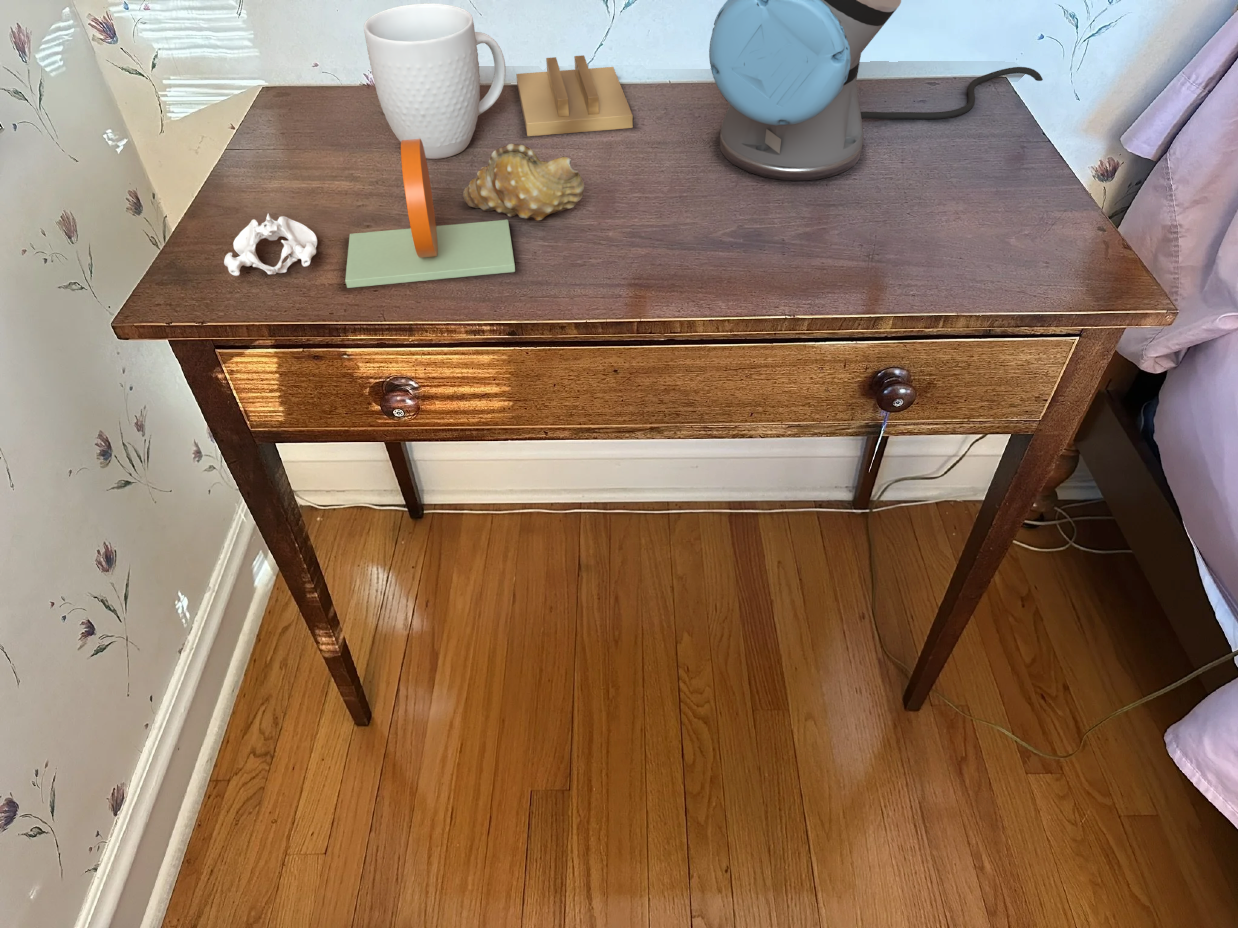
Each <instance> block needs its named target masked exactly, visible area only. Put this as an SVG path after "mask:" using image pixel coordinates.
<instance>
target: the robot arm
mask: <svg viewBox="0 0 1238 928" xmlns="http://www.w3.org/2000/svg"><path fill="white" fill-rule="evenodd" d="M901 3H902V0H726V1H725V2H724V4H723V5H722V6H721V8H720V9H719V11H718V12H717V15H716V17H715V19H714V23H713V27H712V31H711V36H710V40H709V46H708V47H709V48H708V52H709V53H708V58H709V65H710V71H711V74H712V78H713V81H714V82H715V85H716V87H717V88H718V91H719V92H720V94H721V95H722V97H723V98H724V99H725V100H726V102H727V103H728V104H729V105H728V108H727V111H726V113H725V115H724V118H723V119H722V123H721V127H720V134H719V135H720V136H719V149H720V152H721V154H722V155H723V156H724V158H725V159H726V160H727V161H729V162H730V163H731V164H732V165H734V166H735V167H738V168H739V169H740V170H743V171H745V172H748V173H751V174H754V175H756V176H760V177H765V178H769V179H773V180H783V181H814V180H822V179H827V178H830V177H834V176H838V175H840V174H842V173H845V172H846V171H848V170H850V169H852V168H853V167H854V166H856V164H857V163H858V162H859V160H860V158H861V155H862V149H863V144H864V128H863V120H864V119H865V120H866V119H867V120H868V119H869V120H940V119H949V118H954V117H959V116H962V115H964V114H966V113H969V112H970V111H971V110H972V109H973V108H974V106H975V104H976V103H975V102H976V94H975V88H976V87H977V86H978V85H981V84H982V83H984V82H987V81H990V80H993V79H997V78H999V77H1003V76H1008V75H1012V74H1013V75H1015V74H1021V75H1027V76H1029V77H1031V78H1033V79H1034V80H1035V81H1036V82H1042V81H1044V79H1043V76H1042V75H1041V74H1040V73H1039V72H1038V71H1037V70H1036V69H1034V68H1031V67H1026V66H1013V67H1007V68H1006V67H1005V68H1002V69H999V70H995V71H992V72H989V73H986V74H983V75H981V76H979V77H976V78H974V79H973V80H972V81H970V83H969V84H968V86H967V103H966V104H965V105H964V106H962V107H959V108H957V109H951V110H945V111H927V112H926V111H924V112H922V111H921V112H919V111H861V106H860V105H861V104H860V99H859V91H858V84H857V79H858V74H859V73H858V72H859V68H860V62H861V56H862V53H863V52H864V50H865V49H866V48H867V47H868V46H869V44H870V43H871V41H872V40H873V39H874V38H875V37H876V36H877V34H878V33H879V32H880V31H881V29H882V28H883V27H884V25H886V23H887V22H888V20H889V19H890V18H891V17H892V16H893V15H894V13H895V12H896V11H897V9H899V7H900V5H901ZM862 119H863V120H862Z"/></svg>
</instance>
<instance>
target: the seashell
mask: <svg viewBox="0 0 1238 928" xmlns="http://www.w3.org/2000/svg"><path fill="white" fill-rule="evenodd" d="M571 164H572V159H571V158H570V157H566V156H560V157H558V158H554V159H552V160H550V161H549V160H548V161H546V160H545V161H544V160H540V159H539V157H538V156H537V154H536V153H535V151H534V150H533V149H532V148H530V147H529V146H526V145H524V144H521V143H520V144H518V143H509V144H507V145H503V146H501V147H499V148H496V149H494V150H493V151H492V152H491V154H490V157H489V159H488V163H487V166H482V167H481V168H480V169H479V170H477V172H476V175H477V176H476V177H475V178H472V179H471V180H470V181H469V183H468V186H465V188H464V189H463V192H462V198H463V201H464V202H465V203H466V205H467V206H468V207H469V208H473V209H474V208H475V209H481V211H485V212H486V211H487V212H492V211H496V212H497V213H499V214H501V213H503V214H504V215H506V216H507V217H510V218H512V217H515V216H517V215H518V217H519V218H521V219H526V220H528V219H529V218H533V219H534V220H535V221H542V220H544V219H545V217H547V216H549V215H551V214H555V213H558V212H563V211H565V210H568V209H573V208H574V207H575V206H576V205H577V204H578V202H580V200H582V198H583V196H584V191H585V189H584V188H585V183H584V180H583V179H582V177H581V175H580V173H579V171H578V169H575V170H574V169H573V168H572V166H571Z"/></svg>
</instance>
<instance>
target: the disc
mask: <svg viewBox="0 0 1238 928" xmlns="http://www.w3.org/2000/svg"><path fill="white" fill-rule="evenodd" d="M400 160H401V173H402V181H403V188H404V196H405V203H406V209H407V216H408V222H409V228H411V232H412V237H413V242H414V246H415V249H416V253H417V255H418V257H419V258H423V257H434V256H437V254H438V244H437V232H436V226H437V223H436V222H437V221H436V214H435V208H434V199H433V198H434V197H433V193H432V186H431V179H430V173H429V167H428V162H427V158H426V156H425V151H424V147H423V143H422V140H421V139H410V140H402V141H401V142H400Z"/></svg>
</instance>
